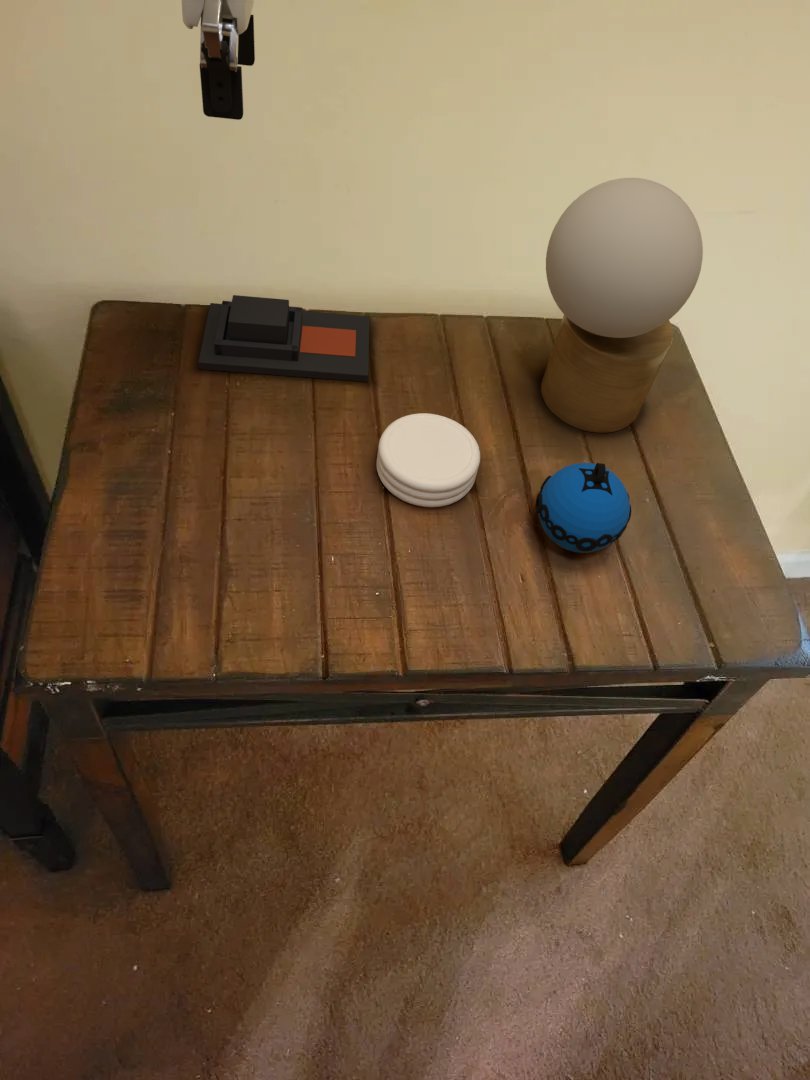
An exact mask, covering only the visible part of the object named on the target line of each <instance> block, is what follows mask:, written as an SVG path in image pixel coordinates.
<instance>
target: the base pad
mask: <svg viewBox="0 0 810 1080" xmlns="http://www.w3.org/2000/svg"><path fill="white" fill-rule="evenodd" d="M231 303H232V300H231V301H230V300H222V301H221V303H216V302H211V303H210V304H209V309H208V312H207V317H206V318H207V319H206V323H205V328H204V332H203V338H202V342H201V343H202V344H201V347H200V352H199V356H198V362H197V363H198V365H197V366H198V370H204V371H205V370H206V371H219V372H228V373H229V372H231V373H241V374H242V373H245V374H257V375H270V376H282V377H296V378H308V379H309V378H310V379H323V380H334V381H336V380H337V381H347V382H360V383H361V382H362V383H368V382H369V367H370V366H369V364H370V363H369V361H370V316H369V315H357V314H345V313H333V312H321V311H311V310H310V311H309V310H303V307H301V306H290V305H289V330H288V339H287V345H281V344H269V343H257V342H244V341H232V340H229V326H228V320H229V314H230V309H231Z"/></svg>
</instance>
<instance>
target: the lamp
mask: <svg viewBox="0 0 810 1080" xmlns="http://www.w3.org/2000/svg"><path fill="white" fill-rule="evenodd" d="M554 225H555V226H554V228H553V230H552V231H551V234H550V237H549V240H548V244H547V249H546V255H545V256H546V257H545V275H546V281H547V285H548V289H549V292H550V294H551V296H552V299H553V301H554V302H555V304H556V306H557V307H558V309H559V310H560V312H561V313H562V314H563V316H562V319H561V323H560V325H559V329H558V332H557V334H556V337H555V341H554V344H553V347H552V349H551V353H550V355H549V359H548V362H547V364H546V369H545V371H544V374H543V377H542V380H541V384H540V391H541V396H542V399H543V402H544V404H545V406H547V408H548V410H549V411H550V412H551V413H552V414H553V415H554V416H555V417H557V418H558V419H559V420H560V421H562V422H563V423H565V424H567V425H569V426H570V427H573V428H575V429H578V430H581V431H586V432H590V433H597V434H609V433H614V432H619V431H621V430H623V429H625V428H627V427H629V426H630V425H631V424H632V423H633V422H634V421H636V419H637V418H638V416H639V413H640V411H641V409H642V407H643V405H644V403H645V401H646V400H647V396H648V395H649V393H650V390H651V388H652V386H653V384H654V381H655V379H656V377H657V376H658V373H659V372H660V369H661V367H662V365H663V364H664V363H663V362H664V360H665V358H666V356H667V354H668V352H669V350H670V349H671V346H672V343H673V341H674V328H673V326H672V323H671V321H670V320H671V319H672V318H673V317H674V316H675V315H676V314H678V313H679V312H680V310H681V309H682V308H683V306H684V305H685V304H686V303H687V302H688V300H689V298H690V297H691V295H692V293H693V292H694V290H695V288H696V285H697V283H698V280H699V277H700V273H701V270H702V265H703V257H704V256H703V255H704V246H703V245H704V244H703V238H702V233H701V228H700V226H699V223H698V221H697V218H696V217H695V213H694V212H693V211H692V209H691V208H690V206H689V204H687V202H685V200H684V199H683V198H682V197H681V196H680V195H679V194H677V193H676V192H675V191H674V190H672V189H671V188H669V187H668V186H666V185H664V184H662V183H660V182H657V181H654V180H651V179H648V178H647V179H646V178H640V177H620V178H615V179H611V180H607V181H605V182H602V183H599V184H597V185H595V186H593V187H590V188H589V189H588V190H586V191H585V192H583V193H581V194H580V195H579V196H578V197H577V198H576V199H574V200H573V201H572V202H571V203H570V204H569V205H568V206H567V207H566V208H565V209H564V211H563V213H562V214H561V216H560V217H559V218H558V220H557V222H556V223H555V224H554Z"/></svg>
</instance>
